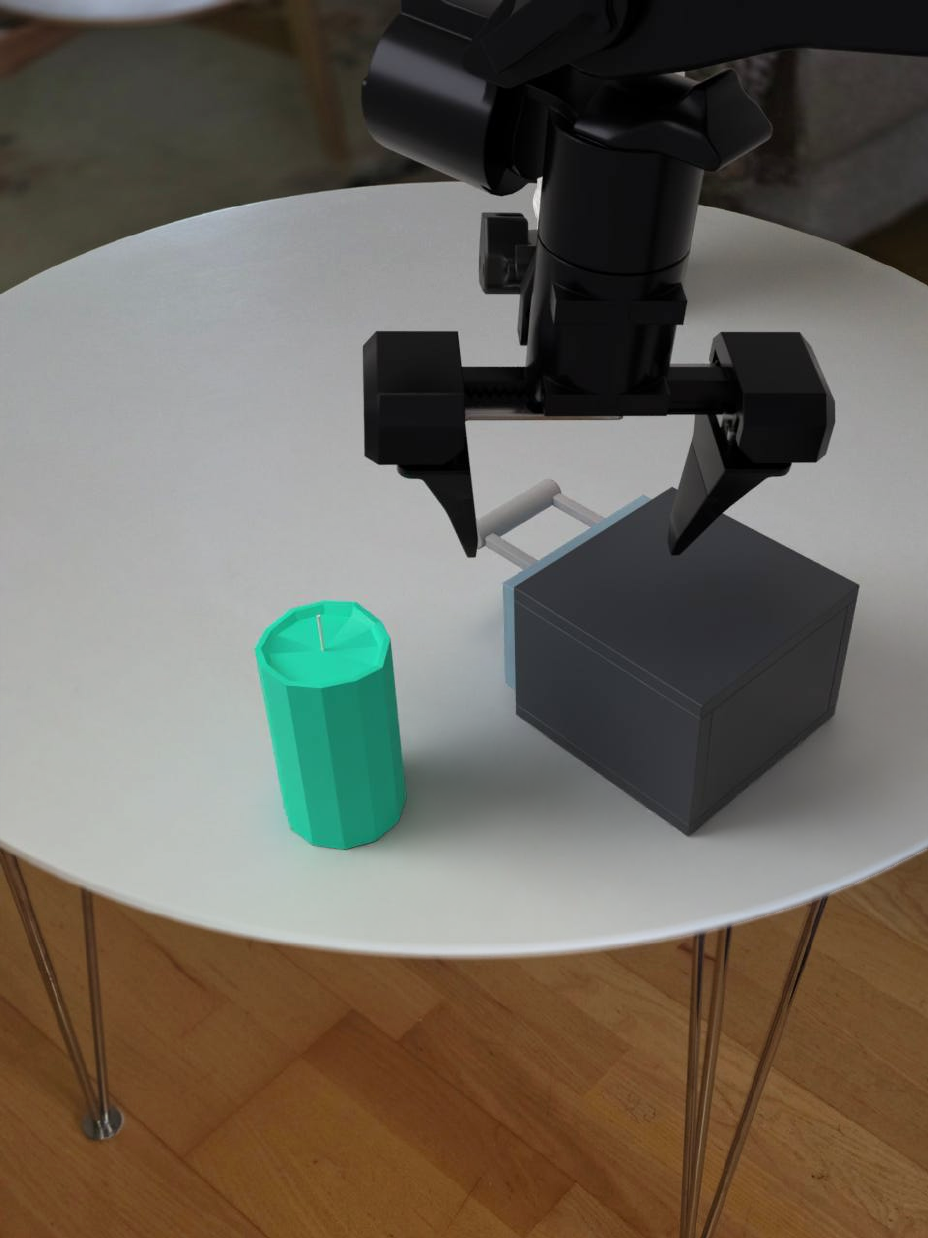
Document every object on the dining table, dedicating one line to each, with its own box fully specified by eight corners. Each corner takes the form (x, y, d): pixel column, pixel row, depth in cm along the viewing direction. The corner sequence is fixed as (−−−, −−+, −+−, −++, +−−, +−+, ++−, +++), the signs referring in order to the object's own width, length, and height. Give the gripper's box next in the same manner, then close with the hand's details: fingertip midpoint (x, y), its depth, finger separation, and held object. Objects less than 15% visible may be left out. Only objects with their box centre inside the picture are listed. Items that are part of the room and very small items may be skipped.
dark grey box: (515, 714, 71) (513, 586, 65) (662, 611, 77) (671, 485, 71) (688, 837, 64) (702, 706, 59) (835, 714, 70) (860, 584, 65)
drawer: (438, 637, 74) (431, 538, 70) (570, 553, 80) (571, 455, 75) (657, 789, 66) (665, 686, 61) (790, 683, 71) (806, 581, 66)
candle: (321, 869, 64) (289, 682, 56) (262, 791, 68) (225, 605, 60) (429, 813, 66) (414, 626, 58) (367, 740, 70) (344, 555, 62)
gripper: (807, 140, 57) (738, 440, 68) (359, 134, 56) (362, 441, 67) (882, 280, 49) (791, 594, 60) (362, 278, 48) (365, 600, 59)
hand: (572, 550), depth 62 cm, fingers open, 9 cm apart
